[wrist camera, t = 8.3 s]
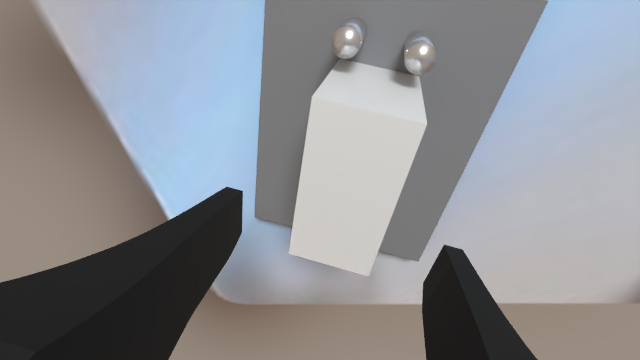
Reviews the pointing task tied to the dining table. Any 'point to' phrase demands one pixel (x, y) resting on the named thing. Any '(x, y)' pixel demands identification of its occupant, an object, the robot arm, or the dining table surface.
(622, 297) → the dining table surface
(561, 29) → the dining table surface
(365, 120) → the block
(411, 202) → the pin tray
